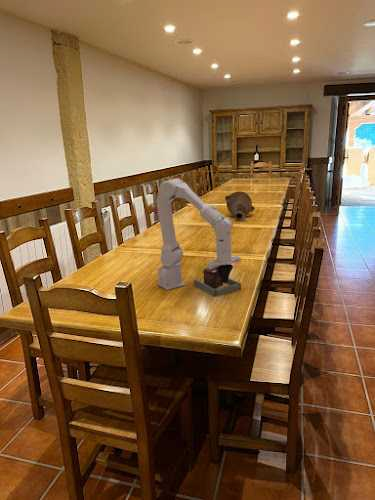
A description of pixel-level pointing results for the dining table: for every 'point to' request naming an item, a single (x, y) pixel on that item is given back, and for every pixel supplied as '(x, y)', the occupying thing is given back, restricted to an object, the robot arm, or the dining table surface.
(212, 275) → the box
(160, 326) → the dining table surface
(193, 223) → the dining table surface
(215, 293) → the grey arch frame
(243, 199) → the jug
